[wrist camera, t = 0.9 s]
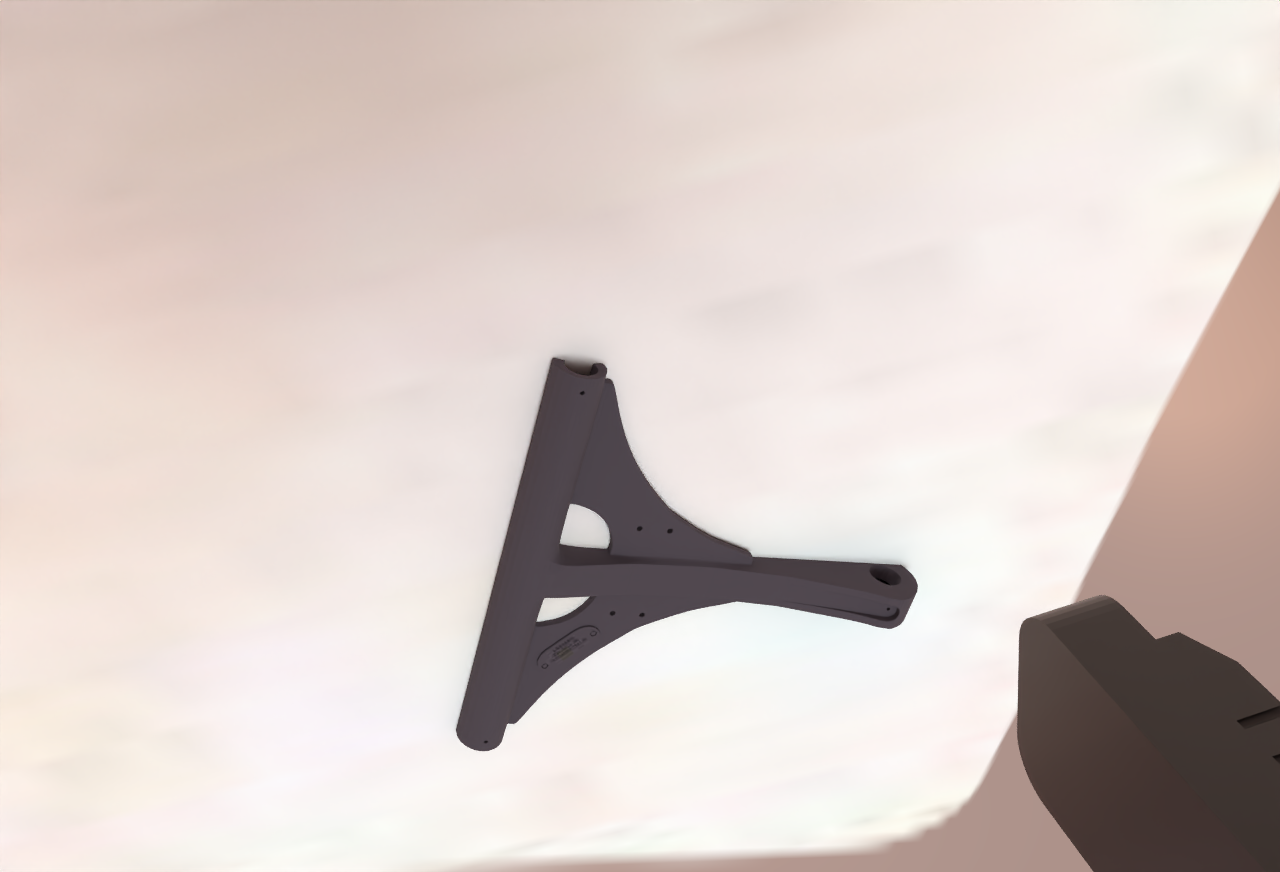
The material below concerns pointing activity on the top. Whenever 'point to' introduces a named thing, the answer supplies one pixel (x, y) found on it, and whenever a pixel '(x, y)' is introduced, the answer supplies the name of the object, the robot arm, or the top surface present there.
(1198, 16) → the top surface
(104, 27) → the top surface
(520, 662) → the bracket
